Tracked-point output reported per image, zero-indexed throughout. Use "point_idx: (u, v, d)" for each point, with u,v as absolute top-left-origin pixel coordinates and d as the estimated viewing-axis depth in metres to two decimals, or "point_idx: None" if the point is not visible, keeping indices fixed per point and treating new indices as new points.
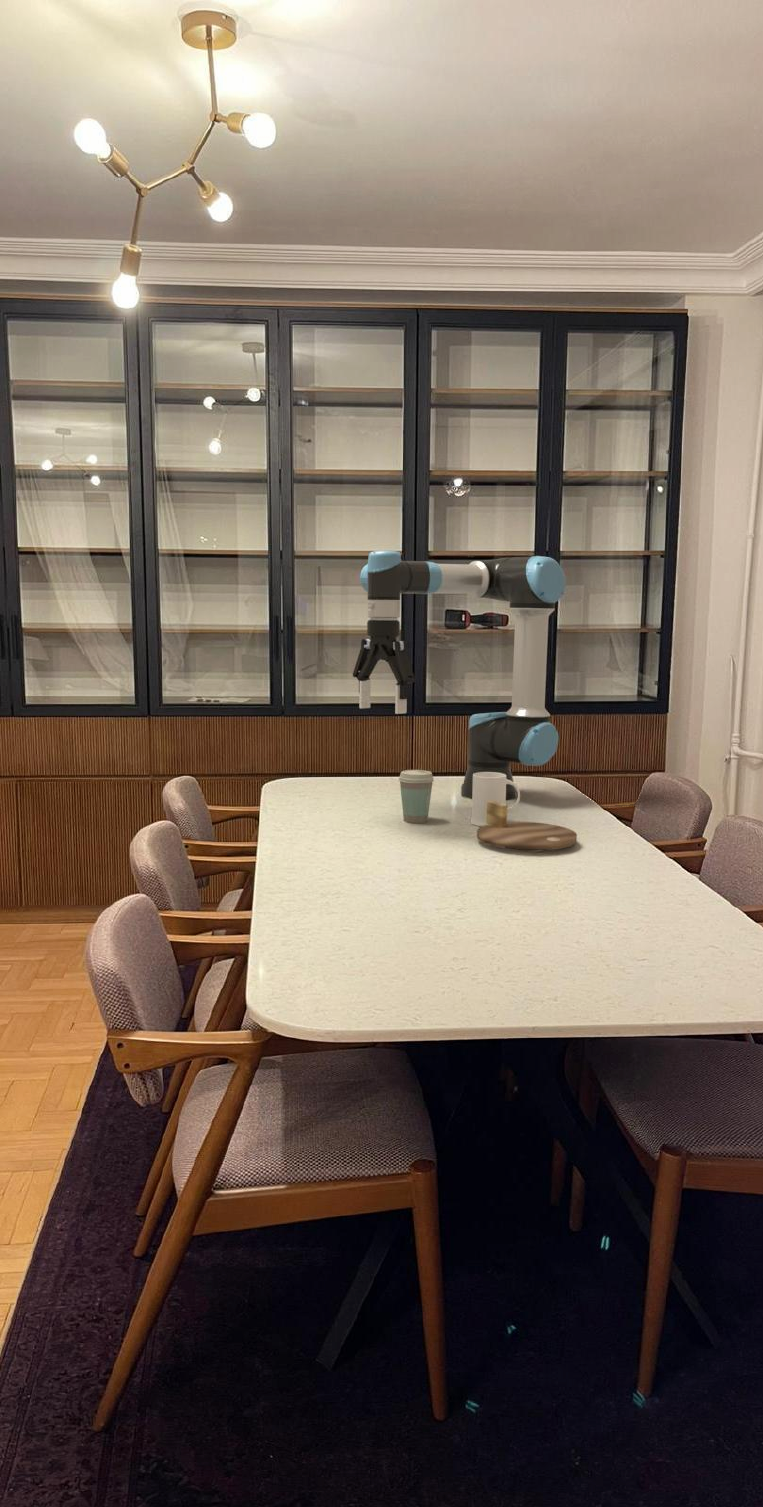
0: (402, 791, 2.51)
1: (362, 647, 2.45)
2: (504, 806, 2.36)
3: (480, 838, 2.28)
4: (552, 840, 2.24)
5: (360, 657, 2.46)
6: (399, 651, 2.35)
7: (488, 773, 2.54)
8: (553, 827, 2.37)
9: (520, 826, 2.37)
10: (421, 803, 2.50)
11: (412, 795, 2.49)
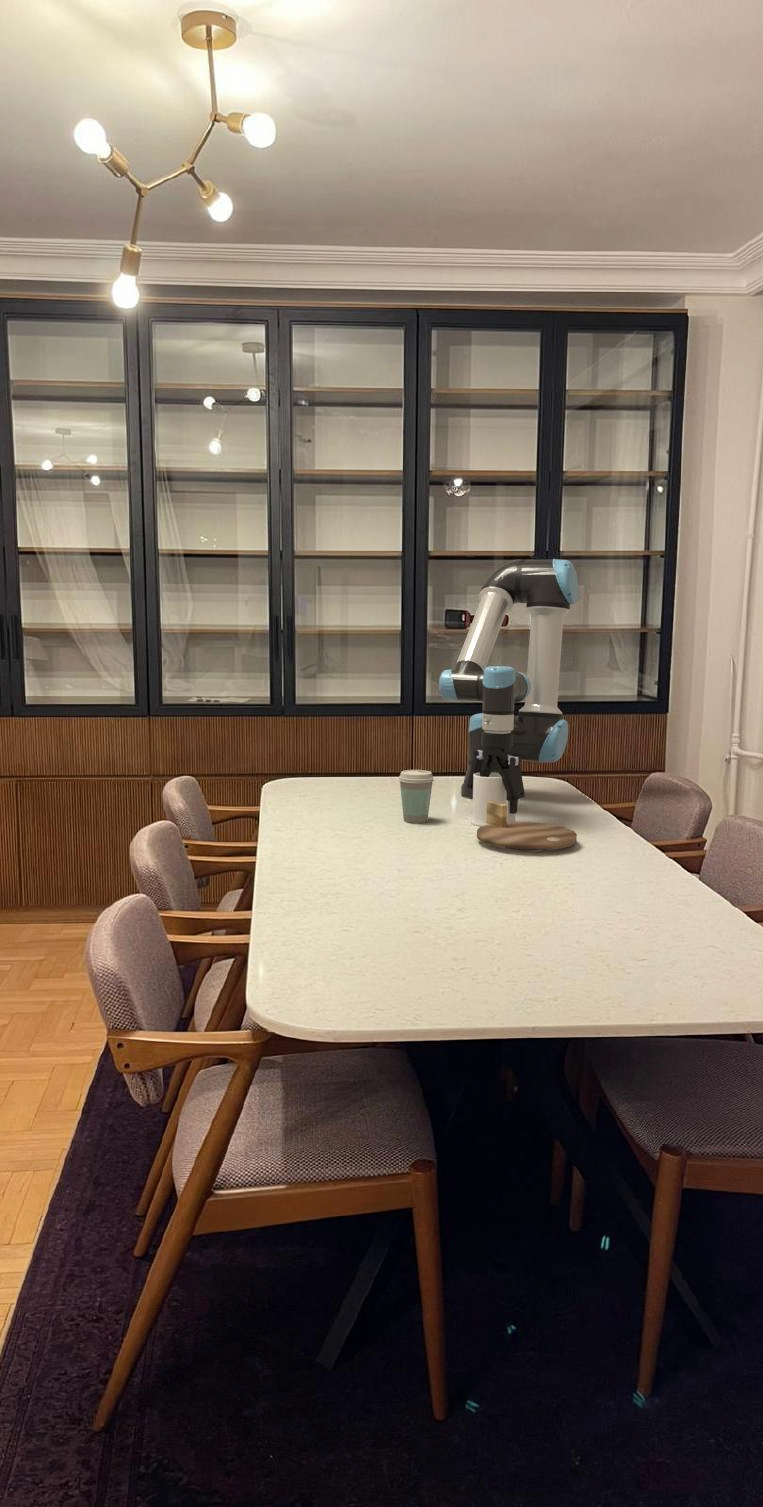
0: (402, 791, 2.51)
1: (475, 758, 2.54)
2: (504, 806, 2.36)
3: (480, 838, 2.28)
4: (552, 840, 2.24)
5: (474, 768, 2.54)
6: (514, 767, 2.44)
7: None
8: (553, 827, 2.37)
9: (520, 826, 2.37)
10: (421, 803, 2.50)
11: (412, 795, 2.49)
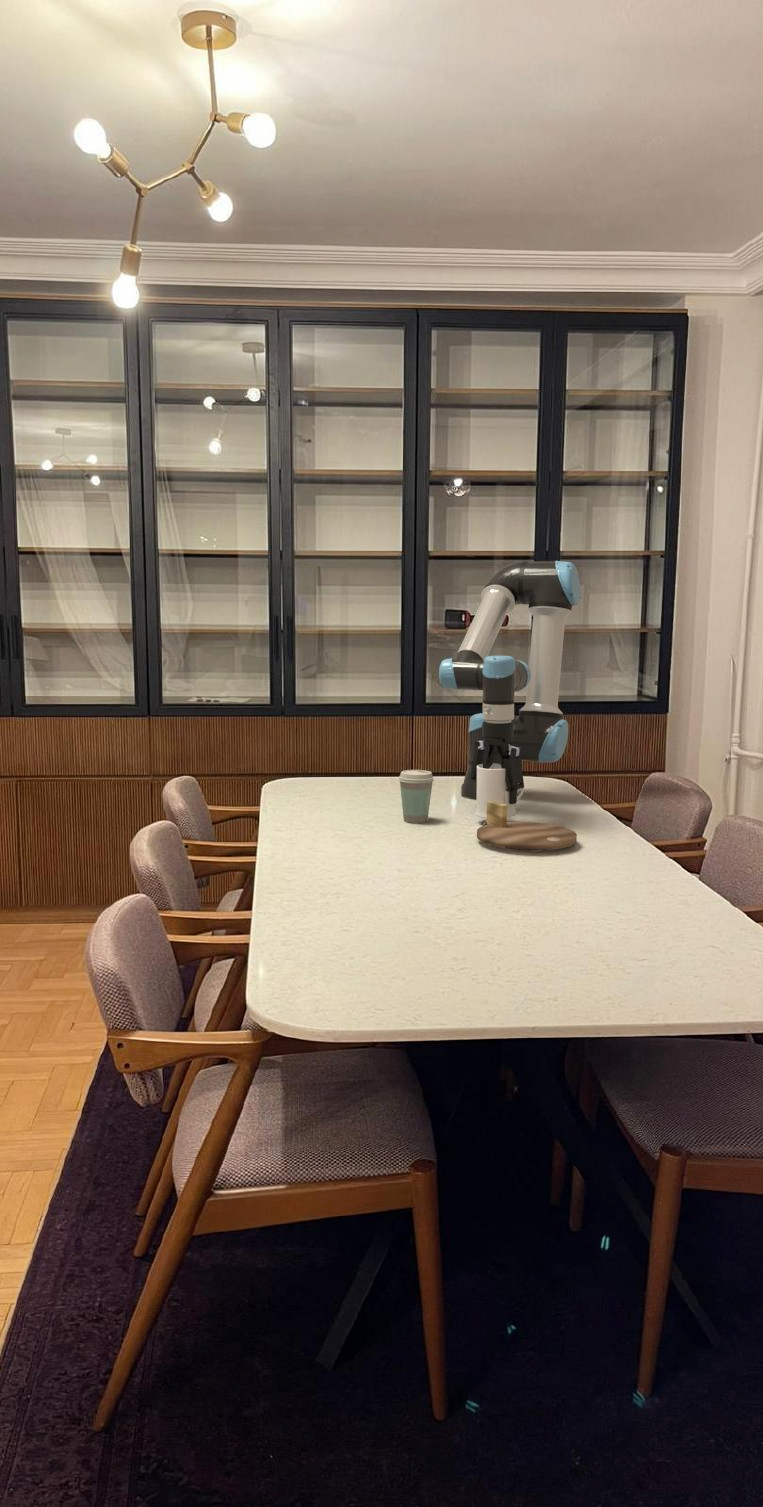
0: (402, 791, 2.51)
1: (476, 749, 2.53)
2: (504, 806, 2.36)
3: (480, 838, 2.28)
4: (552, 840, 2.24)
5: (476, 759, 2.54)
6: (514, 758, 2.44)
7: (492, 764, 2.53)
8: (553, 827, 2.37)
9: (520, 826, 2.37)
10: (421, 803, 2.50)
11: (412, 795, 2.49)
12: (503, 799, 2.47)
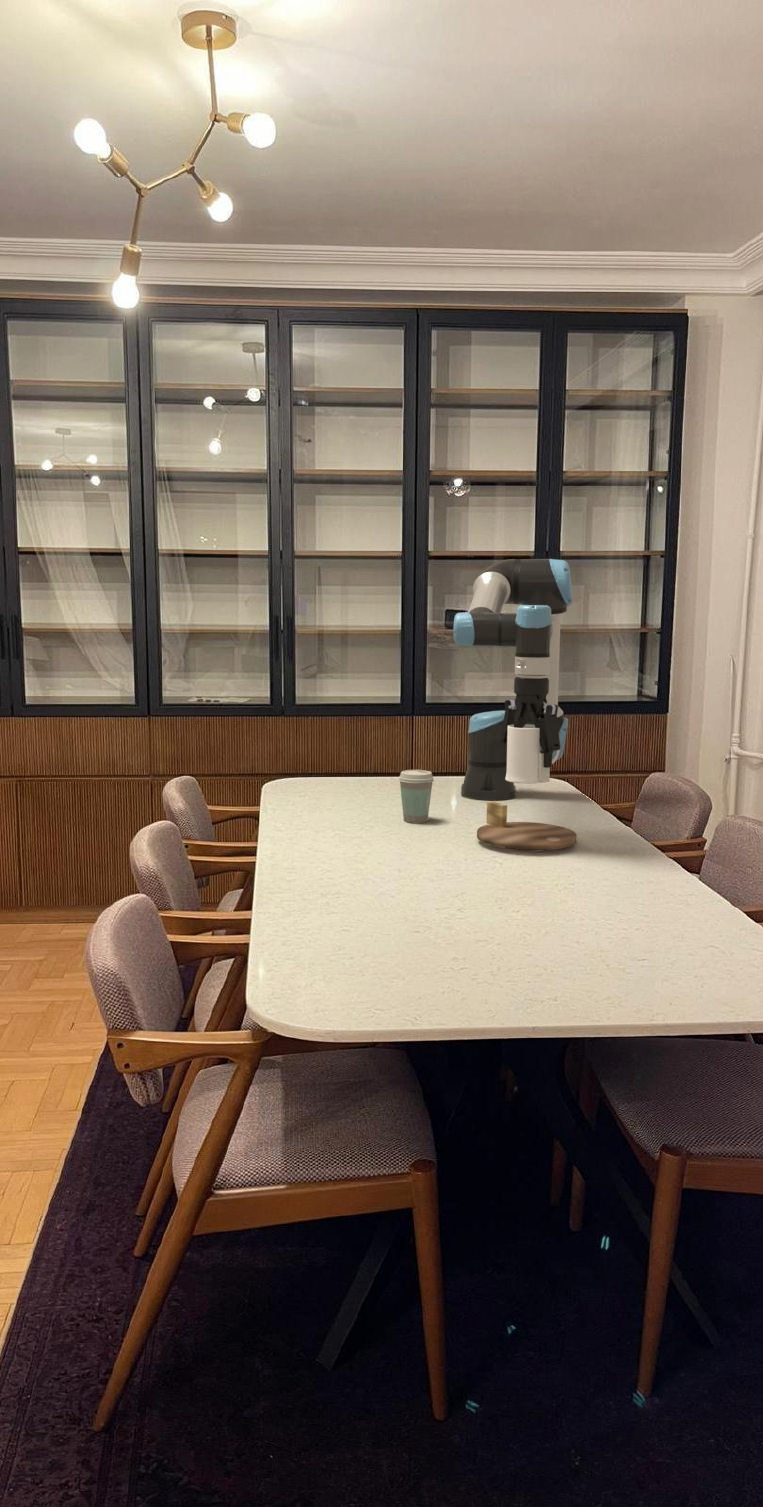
0: (402, 791, 2.51)
1: (507, 709, 2.31)
2: (504, 806, 2.36)
3: (480, 838, 2.28)
4: (552, 840, 2.24)
5: (506, 720, 2.31)
6: (550, 716, 2.22)
7: None
8: (553, 827, 2.37)
9: (520, 826, 2.37)
10: (421, 803, 2.50)
11: (412, 795, 2.49)
12: (536, 762, 2.25)
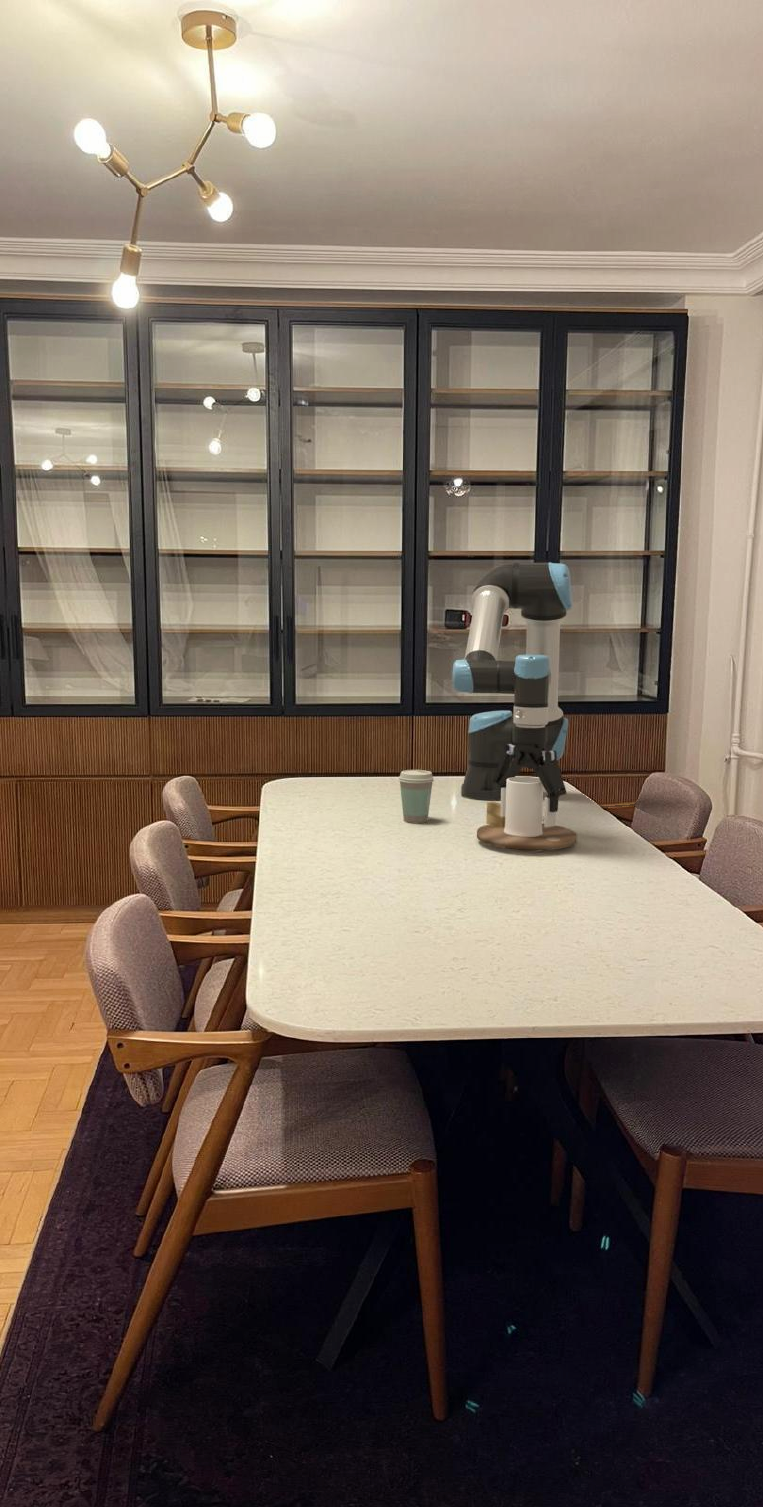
0: (402, 791, 2.51)
1: (504, 753, 2.33)
2: None
3: (480, 838, 2.28)
4: (552, 840, 2.24)
5: (502, 763, 2.34)
6: (550, 762, 2.23)
7: (522, 778, 2.32)
8: (553, 827, 2.37)
9: None
10: (421, 803, 2.50)
11: (412, 795, 2.49)
12: (535, 816, 2.26)
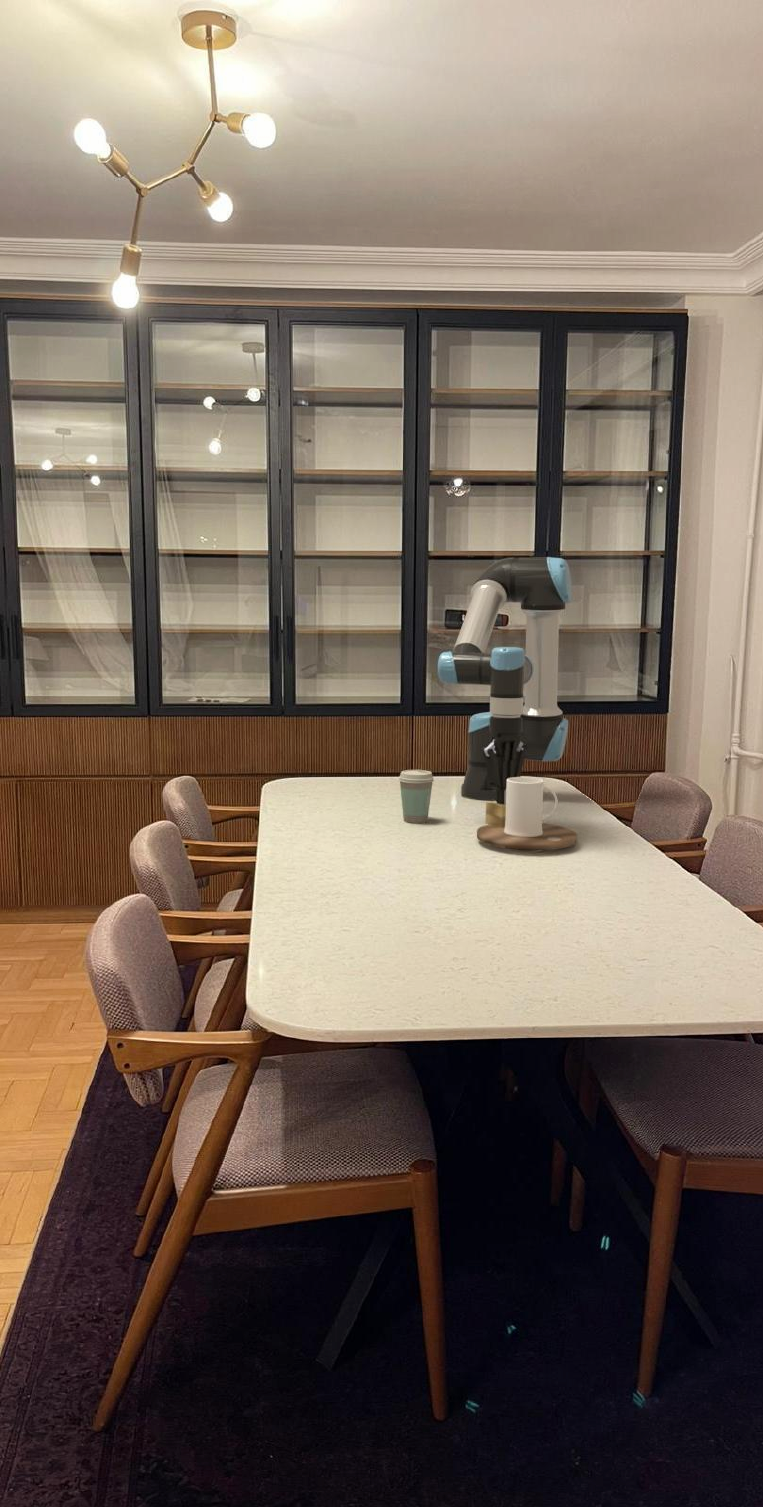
0: (402, 791, 2.51)
1: None
2: (503, 806, 2.36)
3: (480, 838, 2.28)
4: (553, 840, 2.24)
5: None
6: (486, 757, 2.35)
7: (522, 778, 2.32)
8: (552, 827, 2.37)
9: None
10: (421, 803, 2.50)
11: (412, 795, 2.49)
12: (535, 816, 2.26)
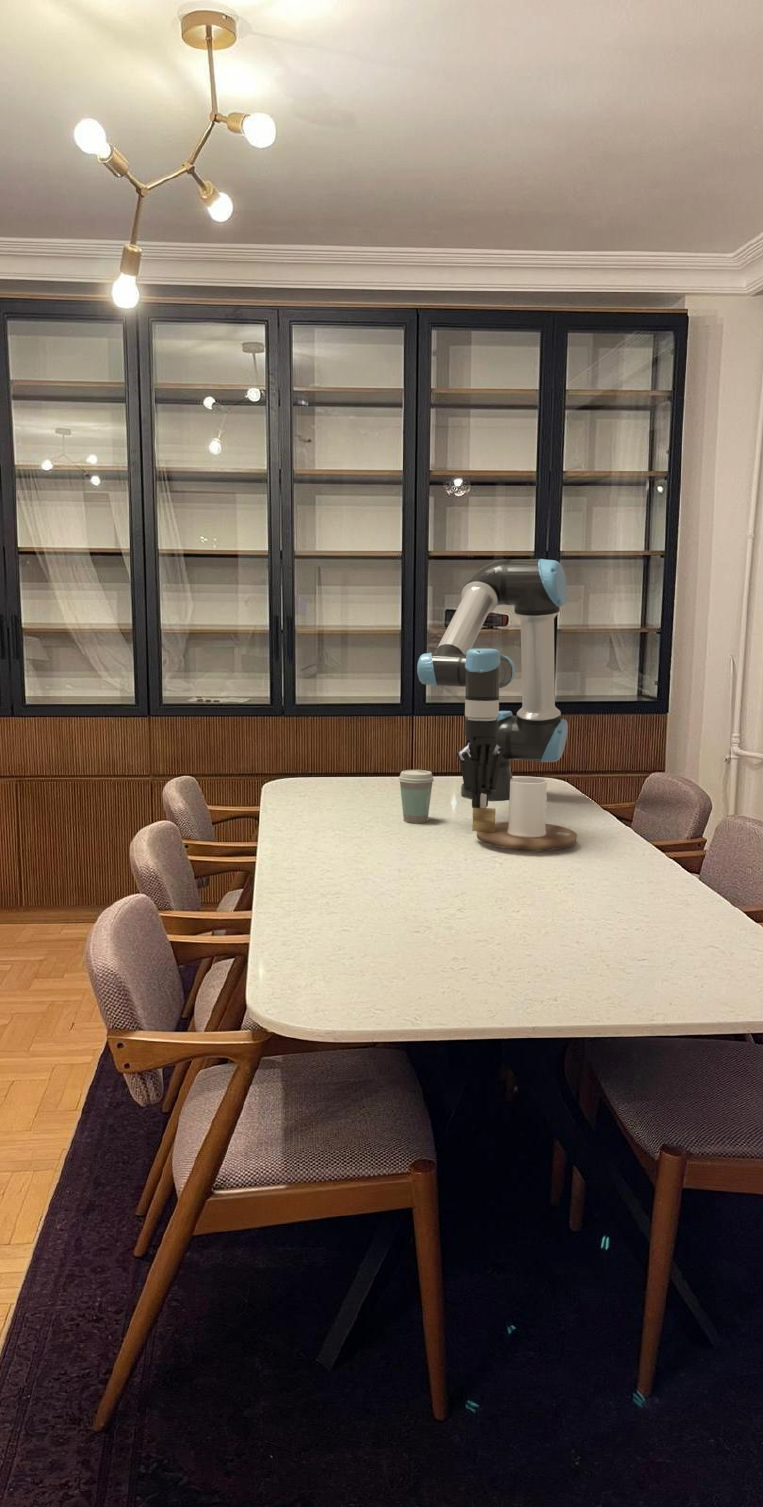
0: (402, 791, 2.51)
1: None
2: (495, 810, 2.31)
3: (507, 845, 2.22)
4: (566, 835, 2.29)
5: None
6: (460, 761, 2.30)
7: (515, 779, 2.31)
8: None
9: (503, 828, 2.35)
10: (421, 803, 2.50)
11: (412, 795, 2.49)
12: (545, 814, 2.28)
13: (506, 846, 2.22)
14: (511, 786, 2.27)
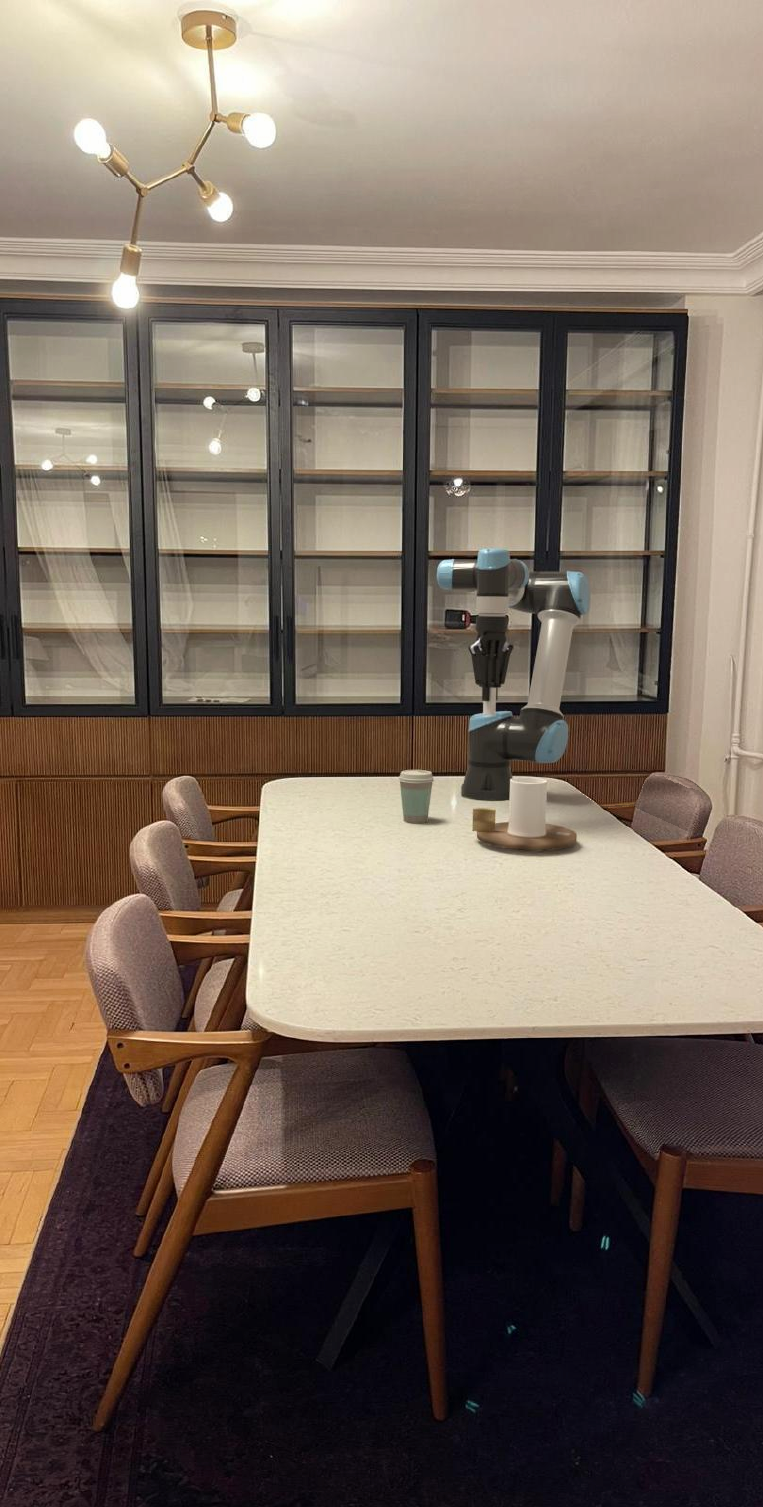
0: (402, 791, 2.51)
1: None
2: (495, 810, 2.31)
3: (507, 845, 2.22)
4: (566, 835, 2.29)
5: None
6: (472, 655, 2.44)
7: (515, 779, 2.31)
8: None
9: (503, 828, 2.35)
10: (421, 803, 2.50)
11: (412, 795, 2.49)
12: (545, 814, 2.28)
13: (506, 846, 2.22)
14: (511, 786, 2.27)
